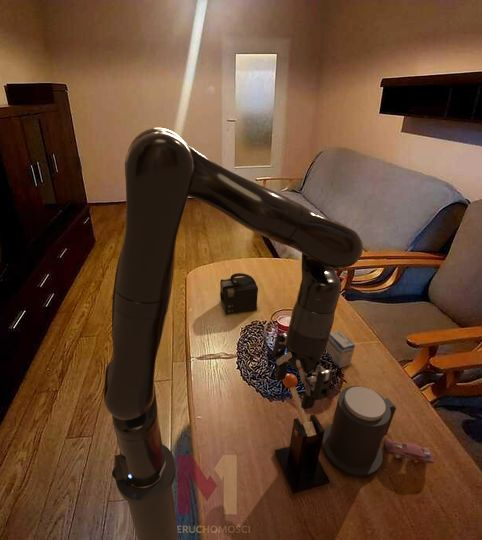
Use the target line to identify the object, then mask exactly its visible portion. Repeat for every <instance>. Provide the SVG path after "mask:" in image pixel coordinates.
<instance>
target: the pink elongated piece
mask: <svg viewBox="0 0 482 540" xmlns="http://www.w3.org/2000/svg"><path fill="white" fill-rule="evenodd" d="M384 446H385V449H386V450H387V451H388V452H389V453H388V454H390V455H393V456H394V458H396V459H407V456H409V460H410V461H412V462H413V463H426V464H434V463H435V458H434V457H435V456H434V453H433V451H431V450H430V449H429V448H428V447H427V446H419V445H418V444H415V443H413V442H400V441H393V440H391V438H389V437H387V438H386V439H385V441H384Z"/></svg>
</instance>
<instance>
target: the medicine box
mask: <svg viewBox="0 0 482 540" xmlns="http://www.w3.org/2000/svg"><path fill="white" fill-rule="evenodd" d="M355 347H356V345H355V344H354V343H353V342H352V341H351V340H350V339H349V338H348V337H347V336H346V335H344V333H342V332H341V331H340V330H339V329H338V330H333V331H331V332H330V335H329V339H328V342H327V346H326V349H325V350H326V351H327V353H328V354H329V355H330V356H331V357H332V358H333V359H332V358H331V357H330V356H329V355H328V354H327V353H326V352H325V353H326V354H325V353H324V354H325V355H326V357H328V359H330V360H331V362H332V363H333V364H335V366H336V367H337V368H338V369H341V368H345V367H348V366H351V363H352V359H353V355H354V352H355Z"/></svg>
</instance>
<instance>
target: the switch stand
mask: <svg viewBox="0 0 482 540" xmlns="http://www.w3.org/2000/svg"><path fill="white" fill-rule="evenodd" d="M311 421H312V423H313V426H314V428H315V431H316V434H317V435H316V436H314V437H311V438H307V436H308V435H307V433H306V432H305V430H304V428H303V426H302V421H301V420H300V418H298V417H297V418H293V423H292V429H291V436H290V441H289V446H287V447H282V448H278V449H275V451H274V454H275V457H276V458H277V461H278V463H279V465H280V467H281V470H282V472H283V475H284V477H285V479H286V481H287V484H288V486H289V488H290V491H291V493H292V495H295V494H298V493H301V492H305V491H309V490H312V489H315V488H318V487H322V486H326V485H329V484H330V482H331V481H330V479H329V476H328V475H327V473H326V470H325V469H324V467H323V466H322V464H321V462H320V459H319V458H320V453H321V450H322V441H323V436H324V432H325V431H324V430H325V429H324V427H323V425H322V424H321V422H320V421H319V419H318V418H317V415H315V413H314V414H310V416H309V420H308V422H311Z"/></svg>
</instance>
